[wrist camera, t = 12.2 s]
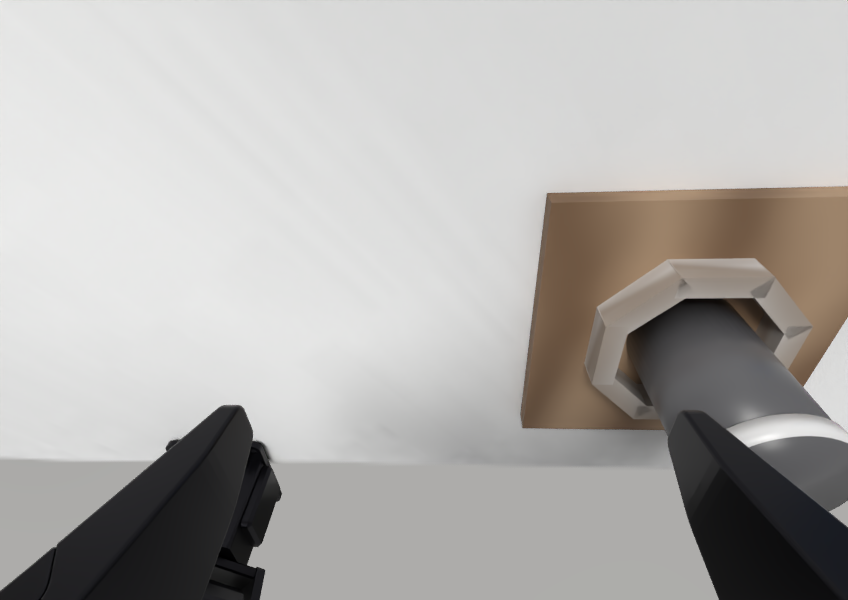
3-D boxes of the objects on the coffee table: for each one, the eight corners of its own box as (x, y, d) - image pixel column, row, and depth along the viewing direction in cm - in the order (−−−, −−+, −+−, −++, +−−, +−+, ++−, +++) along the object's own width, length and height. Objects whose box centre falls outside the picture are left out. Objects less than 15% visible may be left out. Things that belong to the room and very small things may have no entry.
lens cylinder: (614, 374, 23) (678, 527, 17) (637, 291, 20) (726, 438, 14) (719, 374, 23) (826, 530, 16) (758, 290, 20) (908, 440, 13)
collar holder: (520, 414, 27) (525, 450, 25) (547, 193, 19) (558, 218, 17) (764, 417, 26) (791, 454, 24) (904, 184, 18) (961, 211, 16)
